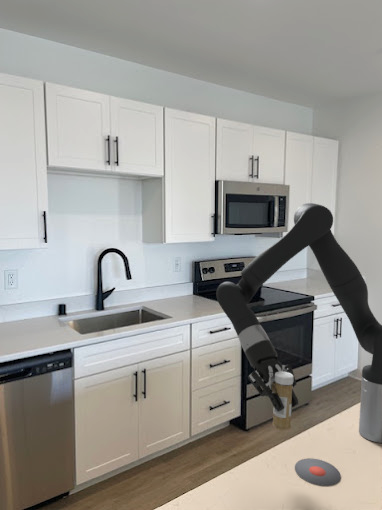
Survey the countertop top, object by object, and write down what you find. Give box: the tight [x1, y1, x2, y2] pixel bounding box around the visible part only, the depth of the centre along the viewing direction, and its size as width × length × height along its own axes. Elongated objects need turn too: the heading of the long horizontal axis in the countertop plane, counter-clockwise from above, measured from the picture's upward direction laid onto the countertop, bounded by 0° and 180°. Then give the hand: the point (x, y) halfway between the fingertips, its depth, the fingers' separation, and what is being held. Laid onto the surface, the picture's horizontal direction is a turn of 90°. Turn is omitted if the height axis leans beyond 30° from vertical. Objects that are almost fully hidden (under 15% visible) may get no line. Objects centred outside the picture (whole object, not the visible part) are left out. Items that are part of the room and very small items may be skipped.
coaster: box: [294, 457, 342, 487], centre depth 97 cm, size 11×11×1 cm
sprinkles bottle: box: [272, 372, 293, 432], centre depth 96 cm, size 5×5×13 cm
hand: (288, 407), depth 94 cm, fingers closed on sprinkles bottle, 4 cm apart
